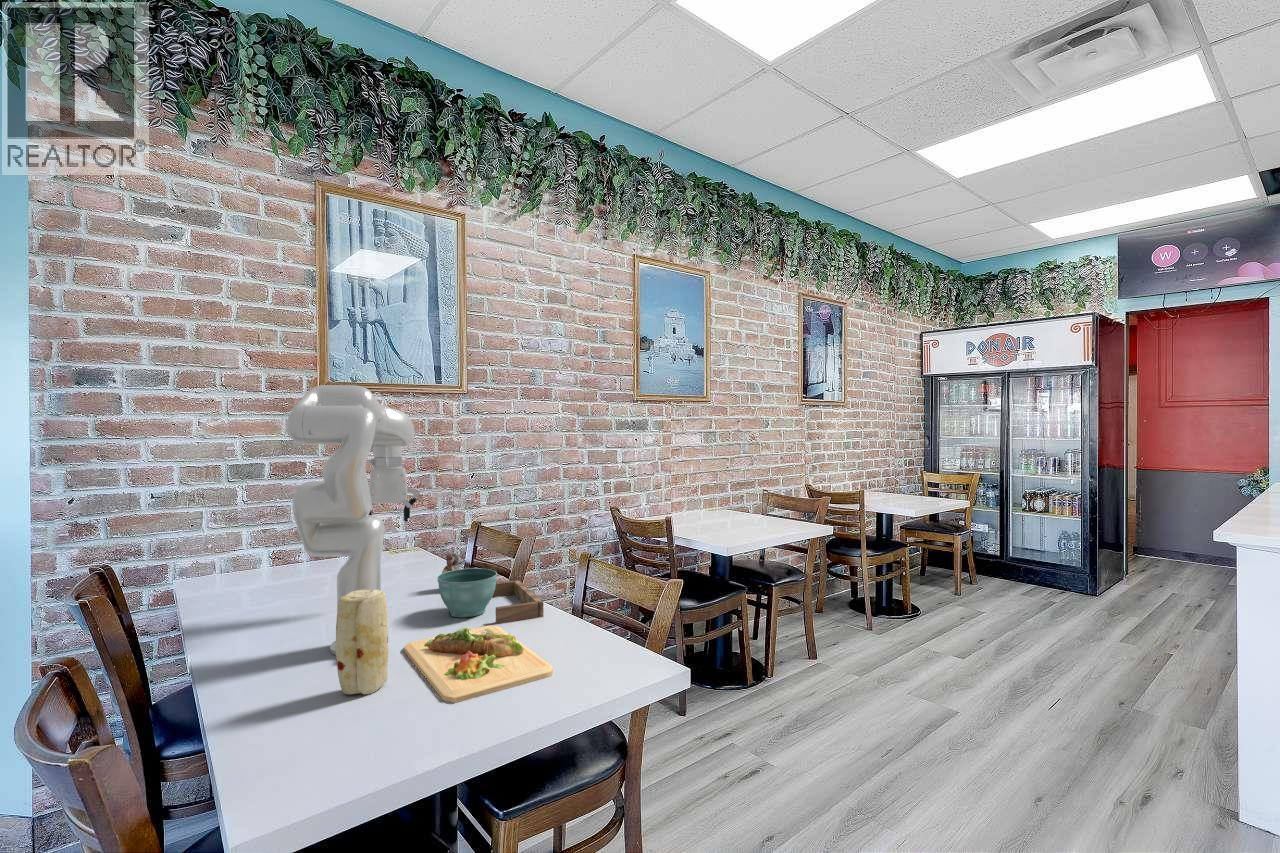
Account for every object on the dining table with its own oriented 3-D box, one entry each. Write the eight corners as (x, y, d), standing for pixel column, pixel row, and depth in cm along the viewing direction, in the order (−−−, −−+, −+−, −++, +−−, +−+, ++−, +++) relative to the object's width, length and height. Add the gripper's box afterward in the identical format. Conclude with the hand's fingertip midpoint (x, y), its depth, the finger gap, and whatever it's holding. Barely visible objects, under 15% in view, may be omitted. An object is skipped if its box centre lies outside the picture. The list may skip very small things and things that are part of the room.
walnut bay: (543, 616, 164) (543, 602, 163) (497, 623, 158) (497, 608, 158) (518, 592, 187) (518, 579, 187) (477, 598, 181) (477, 585, 181)
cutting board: (557, 677, 126) (557, 642, 126) (447, 708, 112) (447, 669, 112) (495, 630, 155) (495, 601, 154) (401, 651, 141) (401, 619, 141)
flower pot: (438, 607, 172) (438, 570, 172) (495, 602, 177) (495, 565, 177) (436, 625, 157) (436, 584, 157) (499, 619, 162) (499, 579, 162)
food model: (383, 678, 124) (382, 583, 124) (394, 689, 119) (393, 590, 119) (332, 692, 118) (331, 592, 118) (341, 704, 113) (340, 599, 113)
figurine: (467, 587, 193) (467, 550, 193) (458, 593, 186) (458, 555, 186) (446, 586, 194) (446, 550, 194) (436, 592, 187) (436, 554, 187)
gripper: (355, 464, 164) (355, 526, 164) (421, 463, 172) (421, 521, 172) (354, 463, 171) (354, 523, 170) (417, 462, 179) (417, 518, 179)
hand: (388, 522), depth 171 cm, fingers open, 9 cm apart
